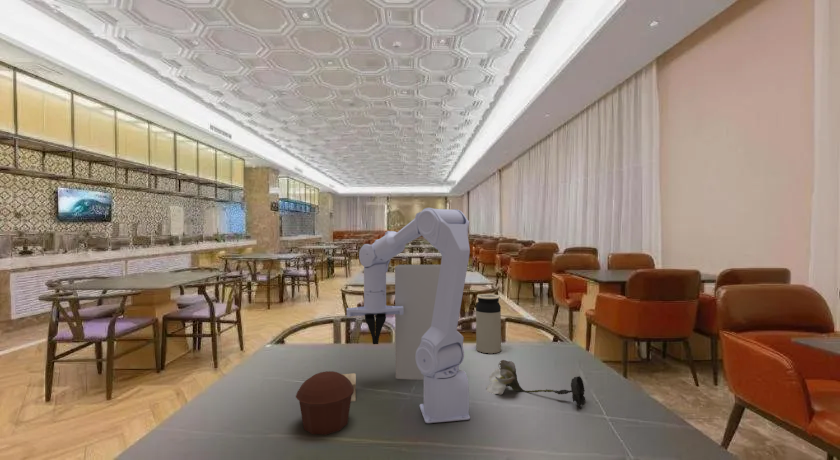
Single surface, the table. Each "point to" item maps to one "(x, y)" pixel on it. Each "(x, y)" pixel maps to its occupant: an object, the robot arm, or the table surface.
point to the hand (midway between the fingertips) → (375, 343)
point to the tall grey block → (413, 314)
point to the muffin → (325, 402)
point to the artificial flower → (509, 378)
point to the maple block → (353, 380)
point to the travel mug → (488, 324)
